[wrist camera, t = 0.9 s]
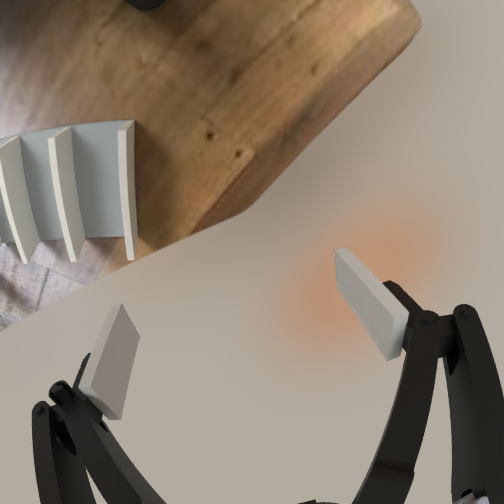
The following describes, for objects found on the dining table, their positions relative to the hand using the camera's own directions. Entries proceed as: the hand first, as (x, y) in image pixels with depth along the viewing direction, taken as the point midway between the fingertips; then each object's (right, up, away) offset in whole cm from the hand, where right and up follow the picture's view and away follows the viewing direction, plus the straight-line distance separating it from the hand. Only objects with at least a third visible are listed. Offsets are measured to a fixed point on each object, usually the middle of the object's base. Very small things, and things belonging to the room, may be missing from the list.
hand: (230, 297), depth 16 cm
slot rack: (-29, +12, +16) cm, 35 cm away
